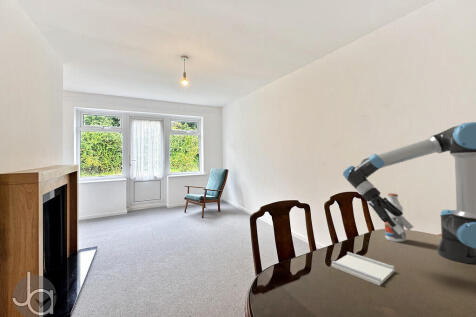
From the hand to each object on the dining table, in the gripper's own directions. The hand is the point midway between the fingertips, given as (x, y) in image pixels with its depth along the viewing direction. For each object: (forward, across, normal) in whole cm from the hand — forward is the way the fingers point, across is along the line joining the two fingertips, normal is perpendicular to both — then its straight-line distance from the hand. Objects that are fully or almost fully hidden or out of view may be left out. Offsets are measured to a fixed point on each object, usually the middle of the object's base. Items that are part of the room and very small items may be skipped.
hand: (406, 230), depth 96 cm
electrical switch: (+1, 0, -5) cm, 5 cm away
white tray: (+4, +16, -20) cm, 26 cm away
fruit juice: (-1, -36, -26) cm, 44 cm away
